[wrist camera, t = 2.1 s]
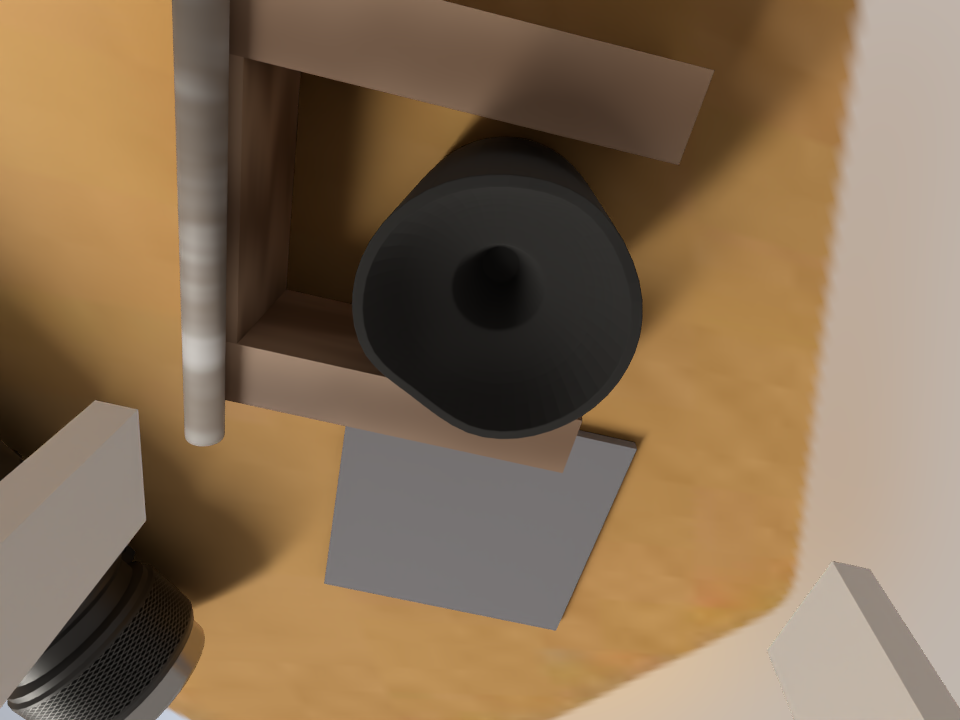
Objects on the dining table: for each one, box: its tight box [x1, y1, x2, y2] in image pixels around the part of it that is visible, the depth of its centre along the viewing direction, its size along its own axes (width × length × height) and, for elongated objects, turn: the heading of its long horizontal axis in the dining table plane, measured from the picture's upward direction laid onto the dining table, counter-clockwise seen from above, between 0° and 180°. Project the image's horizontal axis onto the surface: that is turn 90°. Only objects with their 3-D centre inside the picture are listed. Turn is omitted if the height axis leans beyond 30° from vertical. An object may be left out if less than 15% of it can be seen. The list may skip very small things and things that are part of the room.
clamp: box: [172, 0, 715, 473], centre depth 25 cm, size 20×17×8 cm
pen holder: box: [352, 137, 642, 439], centre depth 24 cm, size 9×9×10 cm
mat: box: [324, 426, 637, 630], centre depth 37 cm, size 16×16×1 cm
